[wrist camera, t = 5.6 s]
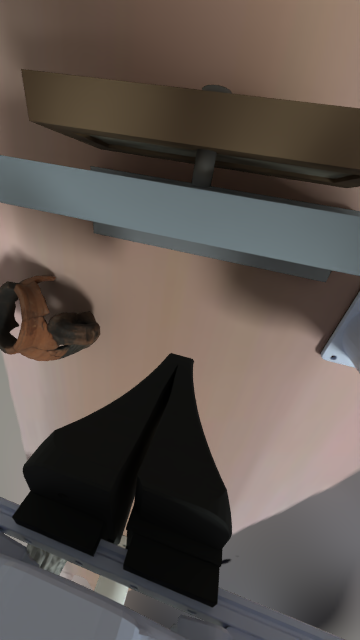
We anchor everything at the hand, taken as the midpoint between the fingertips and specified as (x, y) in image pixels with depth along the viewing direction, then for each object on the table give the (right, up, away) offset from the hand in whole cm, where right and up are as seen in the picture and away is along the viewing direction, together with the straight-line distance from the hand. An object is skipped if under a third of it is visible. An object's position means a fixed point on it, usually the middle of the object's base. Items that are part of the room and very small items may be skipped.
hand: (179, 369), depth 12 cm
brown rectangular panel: (+2, +13, +2) cm, 13 cm away
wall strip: (+2, +11, +6) cm, 12 cm away
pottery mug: (-13, +4, +14) cm, 19 cm away
